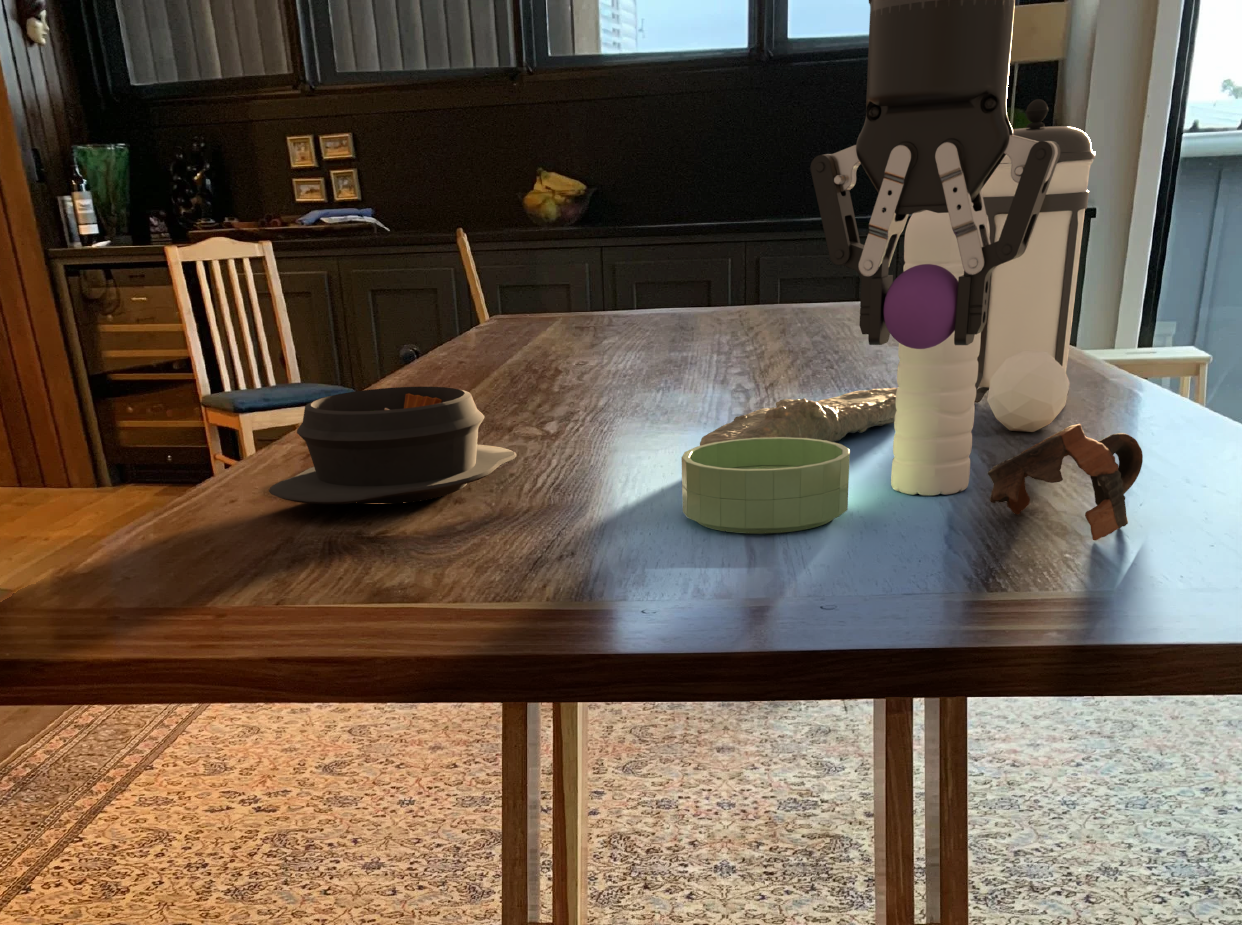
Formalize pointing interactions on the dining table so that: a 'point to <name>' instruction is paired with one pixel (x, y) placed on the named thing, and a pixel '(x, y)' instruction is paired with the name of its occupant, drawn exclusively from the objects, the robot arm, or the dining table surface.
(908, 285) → the ball
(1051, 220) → the coffee press
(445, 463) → the grey pot on saucer
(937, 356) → the water bottle
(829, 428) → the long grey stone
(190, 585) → the dining table surface
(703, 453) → the bowl
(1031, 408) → the geometric ball
